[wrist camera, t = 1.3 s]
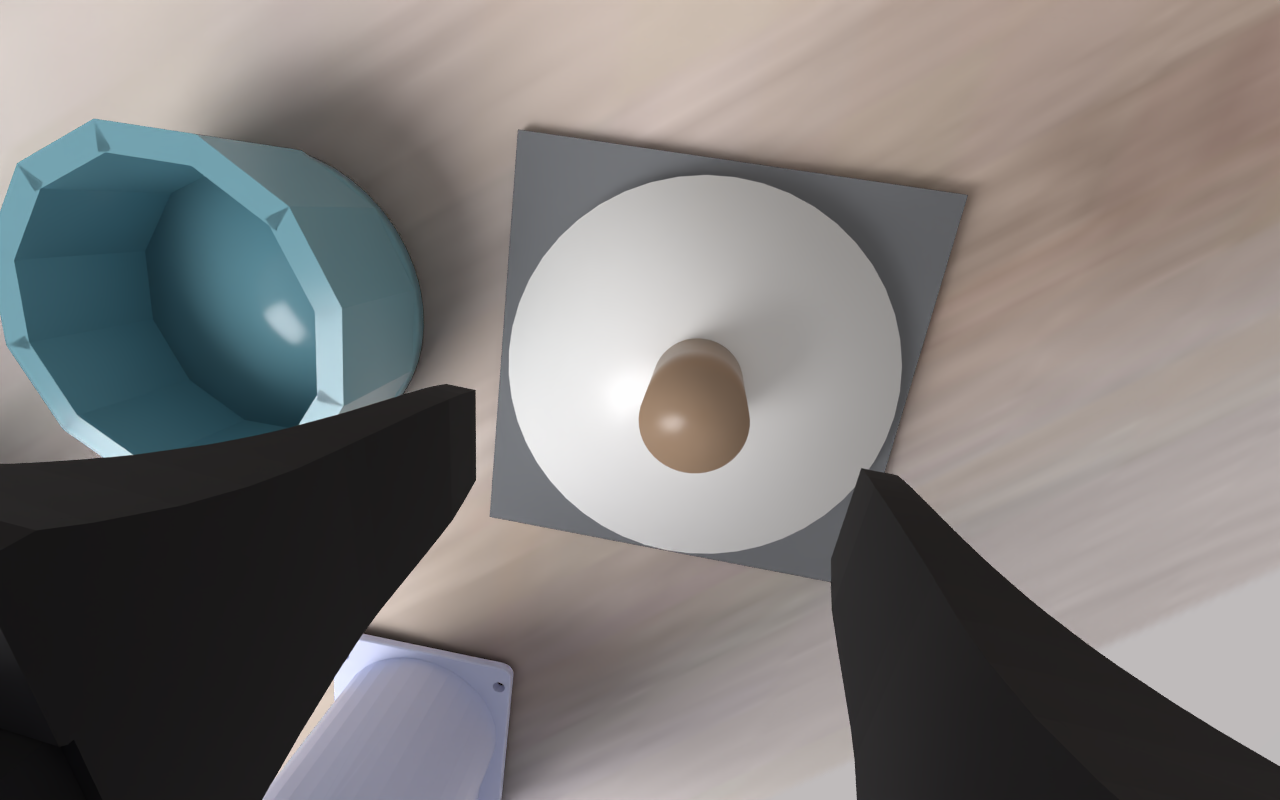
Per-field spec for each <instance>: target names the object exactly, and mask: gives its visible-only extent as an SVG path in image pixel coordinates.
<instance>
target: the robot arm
mask: <svg viewBox="0 0 1280 800" xmlns="http://www.w3.org/2000/svg"><path fill="white" fill-rule="evenodd" d="M475 481H476V402H475V390H472V389H467V388H463V387H458V386H453V385H448V384H444V385H438V386H433V387H429V388H425V389H421V390H417V391H414V392H410V393H407V394H404V395H400V396H397V397H394V398H390V399H387V400H384V401H381V402H377V403H374V404H371V405H368V406H364V407H361V408H358V409H355V410H351V411H348V412H345V413H341V414H337V415H334V416H330V417H326V418H323V419H319V420H316V421H312V422H308V423H305V424H301V425H297V426H294V427H290V428H286V429H282V430H278V431H273V432H269V433H264V434H260V435H255V436H250V437H245V438H240V439H235V440H230V441H225V442H219V443H214V444H208V445H201V446H194V447H187V448H179V449H172V450H165V451H158V452H150V453H143V454H136V455H127V456H116V457H106V458H95V459H83V460H69V461H55V462H39V463H20V464H0V800H502V789H503V779H504V769H505V758H506V748H507V737H508V727H509V717H510V706H511V696H512V685H513V675H514V674H513V670H512V668H511V667H510V666H509V665H507V664H505V663H501V662H497V661H492V660H487V659H482V658H477V657H473V656H468V655H463V654H458V653H453V652H449V651H444V650H439V649H434V648H429V647H425V646H420V645H415V644H410V643H405V642H401V641H396V640H391V639H386V638H381V637H377V636H372V635H367V634H363V633H364V631H365V630H366V629H367V627H368V626H369V625H370V623H371V622H372V621H373V619H374V618H375V616H376V615H377V614H378V612H379V611H380V610H381V608H382V607H383V606H384V605H385V604H386V602H387V601H388V600H389V599H390V597H391V596H392V595H393V594H394V592H395V591H396V590H397V589H398V588H399V586H400V585H401V584H402V583H403V581H404V580H405V579H406V578H407V576H408V575H409V574H410V573H411V571H412V570H413V569H414V568H415V567H416V565H417V564H418V563H419V562H420V560H421V559H422V558H423V557H424V555H425V554H426V553H427V552H428V551H429V549H430V548H431V547H432V546H433V544H434V543H435V542H436V540H437V539H438V538H439V537H440V535H441V534H442V533H443V532H444V530H445V529H446V528H447V527H448V525H449V524H450V523H451V521H452V520H453V518H454V517H455V515H456V513H457V512H458V510H459V509H460V507H461V505H462V504H463V502H464V500H465V498H466V497H467V495H468V493H469V491H470V490H471V488H472V486H473V484H474V482H475ZM831 598H832V614H833V621H834V627H835V634H836V640H837V647H838V653H839V659H840V665H841V671H842V677H843V683H844V690H845V696H846V702H847V708H848V714H849V720H850V726H851V733H852V742H853V750H854V758H855V774H856V791H857V800H1280V766H1278V765H1277V764H1275V763H1273V762H1271V761H1270V760H1268V759H1266V758H1264V757H1262V756H1261V755H1259V754H1258V753H1256V752H1254V751H1253V750H1250V749H1249V748H1247V747H1246V746H1244V745H1242V744H1241V743H1239V742H1237V741H1235V740H1233V739H1232V738H1230V737H1228V736H1227V735H1225V734H1223V733H1222V732H1220V731H1218V730H1217V729H1215V728H1213V727H1212V726H1210V725H1208V724H1207V723H1205V722H1204V721H1202V720H1201V719H1199V718H1197V717H1196V716H1194V715H1192V714H1191V713H1189V712H1188V711H1186V710H1184V709H1183V708H1181V707H1179V706H1178V705H1176V704H1175V703H1173V702H1172V701H1170V700H1169V699H1167V698H1166V697H1164V696H1163V695H1161V694H1159V693H1158V692H1157V691H1155V690H1154V689H1152V688H1151V687H1149V686H1147V685H1146V684H1145V683H1143V682H1142V681H1140V680H1138V679H1137V678H1135V677H1134V676H1132V675H1131V674H1129V673H1128V672H1126V671H1125V670H1123V669H1122V668H1120V667H1119V666H1117V665H1116V664H1115V663H1113V662H1112V661H1110V660H1109V659H1108V658H1106V657H1105V656H1103V655H1102V654H1100V653H1099V652H1098V651H1096V650H1095V649H1093V648H1092V647H1091V646H1089V645H1088V644H1087V643H1085V642H1084V641H1083V640H1081V639H1080V638H1079V637H1077V636H1076V635H1075V634H1073V633H1072V632H1071V631H1070V630H1068V629H1067V628H1066V627H1064V626H1063V625H1062V624H1060V623H1059V622H1058V621H1056V620H1055V619H1054V618H1053V617H1051V616H1050V615H1049V614H1047V613H1046V612H1045V611H1043V610H1042V609H1041V608H1040V607H1039V606H1037V605H1036V604H1035V603H1034V602H1032V601H1031V600H1030V599H1029V598H1028V597H1026V596H1025V595H1024V594H1023V593H1022V592H1021V591H1019V590H1018V589H1017V588H1016V587H1015V586H1014V585H1013V584H1011V583H1010V582H1009V581H1008V580H1007V579H1006V578H1005V577H1003V576H1002V575H1001V574H1000V573H999V572H998V571H997V570H995V569H994V568H993V567H992V566H991V565H990V564H989V563H988V562H987V561H986V560H985V559H983V558H982V557H981V556H980V555H979V554H978V553H977V552H976V551H975V550H974V549H973V548H972V547H971V546H970V545H969V544H968V543H967V542H965V541H964V540H963V539H962V538H961V537H960V536H959V535H958V534H957V533H956V532H955V531H954V530H953V529H952V528H951V527H950V526H949V525H948V524H947V523H946V522H945V521H944V520H943V519H942V518H941V517H940V516H939V515H938V514H937V513H936V512H935V511H934V510H933V509H932V508H931V507H930V506H929V505H928V504H927V503H926V502H925V501H924V500H923V499H922V498H921V497H920V496H919V495H918V494H917V493H916V492H915V491H914V490H913V489H912V488H911V487H910V486H909V485H908V484H907V483H906V482H905V481H903V480H902V479H901V478H900V477H899V476H897V475H893V474H888V473H883V472H878V471H873V470H868V469H863V468H861V470H860V473H859V476H858V479H857V482H856V485H855V488H854V491H853V494H852V497H851V500H850V503H849V506H848V509H847V512H846V515H845V518H844V521H843V524H842V527H841V530H840V533H839V536H838V539H837V542H836V545H835V548H834V551H833V554H832V557H831ZM333 679H334V700H335V702H334V703H333V704H332V705H331V707H330V708H329V709H328V711H327V712H326V713H325V714H324V716H323V717H322V718H321V720H320V721H319V722H318V723H317V725H316V726H315V727H314V729H313V730H312V731H311V732H310V734H309V735H308V736H307V738H306V739H305V740H304V742H303V743H302V744H301V745H300V747H299V748H298V749H297V751H296V752H295V753H294V754H293V756H292V757H291V758H290V760H289V761H288V762H287V763H286V765H285V766H284V767H283V769H282V770H281V771H280V772H279V774H278V775H277V773H278V771H279V770H280V768H281V766H282V764H283V763H284V761H285V759H286V757H287V756H288V754H289V752H290V750H291V749H292V747H293V745H294V743H295V742H296V740H297V738H298V736H299V735H300V733H301V731H302V730H303V728H304V726H305V725H306V723H307V722H308V720H309V718H310V717H311V715H312V713H313V712H314V710H315V708H316V707H317V705H318V704H319V702H320V700H321V699H322V697H323V695H324V694H325V692H326V690H327V689H328V687H329V686H330V684H331V682H332V681H333ZM497 682H499V683H502V684H503V685H499V684H498V683H497ZM276 775H277V776H276ZM275 777H276V778H275ZM274 778H275V779H274Z"/></svg>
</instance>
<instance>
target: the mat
mask: <svg viewBox="0 0 1280 800" xmlns="http://www.w3.org/2000/svg"><path fill="white" fill-rule="evenodd" d="M697 175H715V176H728V177H737V178H741V179H746V180H751V181H755V182H760V183H764V184H766V185H769V186H772V187H774V188H777V189H780V190H782V191H785V192H788V193H790V194H792V195H794V196H796V197H797V198H799V199H801V200H803V201H805V202H807V203H808V204H810V205H812V206H814V207H815V208H817V209H818V210H819V211H821V212H822V213H823V214H825V215H826V216H827V217H829V218H830V219H831V220H833V221H834V222H835V223H837V224H838V225H839V226H840V227H841V228H842V229H843V230H844V231H845V232H846V233H847V234H848V235H849V236H850V237H851V238H852V239H853V240H854V241H855V242H856V243H857V245H858V246H859V247H860V249H861V250H862V251H863V253H864V254H865V255H866V257H867V258H868V259H869V261H870V262H871V263H872V265H873V266H874V268H875V270H876V272H877V274H878V276H879V277H880V279H881V281H882V283H883V285H884V287H885V289H886V291H887V294H888V297H889V299H890V302H891V305H892V308H893V310H894V313H895V317H896V322H897V326H898V331H899V336H900V342H901V358H902V372H901V385H900V394H899V398H898V403H897V407H896V412H895V416H894V419H893V422H892V424H891V427H890V430H889V432H888V435H887V438H886V440H885V442H884V444H883V446H882V448H881V450H880V452H879V453H878V455H877V457H876V459H875V461H874V463H873V464H872V465H871V467H870V468H869V470H873V471H878V472H883V473H885V469H886V466H887V463H888V459H889V456H890V453H891V449H892V446H893V443H894V439H895V436H896V433H897V429H898V426H899V423H900V419H901V416H902V413H903V409H904V406H905V403H906V399H907V396H908V393H909V389H910V386H911V383H912V379H913V376H914V373H915V369H916V366H917V363H918V359H919V356H920V353H921V349H922V346H923V343H924V339H925V336H926V333H927V329H928V326H929V323H930V319H931V316H932V313H933V309H934V306H935V303H936V299H937V296H938V293H939V289H940V286H941V283H942V279H943V276H944V273H945V270H946V266H947V263H948V260H949V256H950V253H951V250H952V246H953V243H954V240H955V236H956V233H957V230H958V226H959V223H960V220H961V216H962V213H963V210H964V206H965V203H966V200H967V196H968V195H964V194H957V193H951V192H944V191H937V190H930V189H923V188H916V187H909V186H902V185H896V184H889V183H882V182H875V181H868V180H861V179H854V178H848V177H841V176H834V175H827V174H820V173H813V172H806V171H799V170H793V169H786V168H779V167H772V166H765V165H758V164H751V163H744V162H738V161H731V160H724V159H717V158H710V157H703V156H696V155H690V154H683V153H676V152H669V151H662V150H655V149H648V148H641V147H635V146H628V145H621V144H614V143H607V142H600V141H593V140H586V139H580V138H573V137H566V136H559V135H552V134H545V133H538V132H531V131H525V130H518V136H517V150H516V164H515V178H514V191H513V205H512V219H511V233H510V246H509V260H508V274H507V288H506V301H505V315H504V329H503V342H502V356H501V370H500V384H499V397H498V411H497V425H496V439H495V452H494V466H493V480H492V493H491V507H490V517H493V518H498V519H504V520H509V521H514V522H519V523H525V524H530V525H535V526H540V527H546V528H551V529H556V530H561V531H566V532H572V533H577V534H582V535H587V536H593V537H598V538H603V539H608V540H613V541H619V542H624V543H629V544H634V545H640V546H645V547H650V548H655V549H660V548H656V547H652V546H648V545H644V544H642V543H639V542H636V541H634V540H631V539H628V538H626V537H623V536H621V535H619V534H617V533H615V532H613V531H611V530H609V529H608V528H606V527H604V526H602V525H600V524H599V523H597V522H596V521H594V520H593V519H591V518H590V517H588V516H587V515H585V514H584V513H583V512H582V511H580V510H579V509H578V508H577V507H576V506H575V505H573V504H572V503H571V502H570V501H569V500H568V499H566V498H565V497H564V495H563V494H562V493H561V492H560V491H559V490H558V489H557V488H556V487H555V486H554V485H553V483H552V482H551V481H550V480H549V479H548V477H547V476H546V474H545V473H544V472H543V470H542V469H541V467H540V466H539V465H538V463H537V462H536V460H535V458H534V456H533V454H532V452H531V451H530V449H529V447H528V445H527V443H526V441H525V439H524V436H523V434H522V431H521V428H520V426H519V423H518V421H517V417H516V413H515V409H514V405H513V401H512V397H511V389H510V380H509V347H510V340H511V333H512V326H513V323H514V319H515V316H516V312H517V309H518V305H519V302H520V300H521V297H522V295H523V293H524V291H525V288H526V286H527V284H528V281H529V279H530V278H531V276H532V274H533V273H534V271H535V269H536V268H537V266H538V264H539V263H540V261H541V259H542V258H543V257H544V255H545V254H546V253H547V252H548V250H549V249H550V248H551V247H552V246H553V244H554V243H555V242H556V241H557V239H558V238H559V237H560V236H561V235H562V234H563V233H564V232H566V231H567V230H568V229H569V228H570V227H571V226H572V225H573V224H574V223H575V222H576V221H577V220H578V219H580V218H581V217H583V216H584V215H585V214H587V213H588V212H590V211H591V210H593V209H594V208H595V207H597V206H598V205H600V204H601V203H603V202H605V201H607V200H609V199H611V198H613V197H615V196H617V195H619V194H621V193H623V192H625V191H627V190H630V189H633V188H636V187H639V186H642V185H644V184H647V183H650V182H655V181H659V180H664V179H669V178H674V177H681V176H697ZM854 488H855V487H854ZM854 488H853V490H852V491H851V492H850V493H849V494H848V495H847V496H846V497H845V498H844V499H843V500H842V501H841V502H840V503H838V504H837V505H836V506H835V507H834V508H832V509H831V510H830V511H829V512H828V513H826V514H825V515H824V516H822V517H821V518H819V519H818V520H816V521H815V522H813V523H811V524H810V525H808V526H807V527H805V528H804V529H802V530H799V531H797V532H795V533H793V534H791V535H789V536H787V537H785V538H783V539H780V540H777V541H774V542H771V543H768V544H766V545H763V546H760V547H755V548H750V549H746V550H741V551H736V552H726V553H715V554H702V553H684V552H677V551H671V552H676V553H681V554H687V555H692V556H697V557H702V558H707V559H713V560H718V561H723V562H728V563H734V564H739V565H744V566H749V567H755V568H760V569H765V570H770V571H775V572H781V573H786V574H791V575H796V576H802V577H807V578H812V579H817V580H822V581H828V582H831V557H832V554H833V551H834V548H835V545H836V542H837V539H838V536H839V533H840V530H841V527H842V524H843V521H844V518H845V515H846V512H847V509H848V506H849V503H850V500H851V497H852V494H853V491H854ZM660 550H664V549H660ZM666 551H669V550H666Z"/></svg>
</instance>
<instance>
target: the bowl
mask: <svg viewBox="0 0 1280 800" xmlns="http://www.w3.org/2000/svg"><path fill="white" fill-rule="evenodd" d="M0 315H1V321H2V326H3V331H4V336H5V341H6V345H7V347H8V348H9V350H10V351H11V353H12V354H13V356H14V357H15V359H16V360H17V362H18V363H19V365H20V366H21V368H22V369H23V371H24V372H25V374H26V375H27V377H28V378H29V380H30V381H31V383H32V384H33V386H34V387H35V389H36V390H37V391H38V393H39V394H40V396H41V397H42V399H43V400H44V402H45V403H46V405H47V406H48V408H49V409H50V411H51V412H52V414H53V415H54V417H55V418H56V420H57V421H58V423H59V424H60V426H61V427H62V429H63V430H64V431H66V432H67V433H69V434H70V435H72V436H73V437H74V438H76V439H77V440H79V441H80V442H82V443H83V444H84V445H86V446H87V447H89V448H90V449H92V450H93V451H94V452H96V453H97V454H99V455H100V456H102V457H103V458H106V457H116V456H127V455H136V454H143V453H150V452H158V451H165V450H172V449H179V448H187V447H194V446H201V445H208V444H214V443H219V442H225V441H230V440H235V439H240V438H245V437H250V436H255V435H260V434H264V433H269V432H273V431H278V430H282V429H286V428H290V427H294V426H297V425H301V424H305V423H308V422H312V421H316V420H319V419H323V418H326V417H330V416H334V415H337V414H341V413H345V412H348V411H351V410H355V409H358V408H361V407H364V406H368V405H371V404H374V403H377V402H381V401H384V400H387V399H390V398H394V397H397V396H400V395H403V393H404V391H405V390H406V388H407V386H408V384H409V383H410V381H411V379H412V377H413V374H414V372H415V369H416V366H417V364H418V360H419V356H420V352H421V347H422V340H423V329H424V320H423V304H422V298H421V291H420V286H419V283H418V279H417V276H416V272H415V269H414V266H413V263H412V261H411V259H410V256H409V254H408V251H407V249H406V247H405V245H404V243H403V242H402V240H401V238H400V236H399V234H398V232H397V231H396V229H395V228H394V226H393V225H392V223H391V222H390V220H389V219H388V218H387V216H386V215H385V213H384V212H383V211H382V210H381V209H380V207H379V206H378V205H377V204H376V203H375V202H374V201H373V200H372V198H371V197H370V196H369V195H368V194H367V193H366V192H364V191H363V190H362V189H361V188H360V187H359V186H358V185H357V184H356V183H354V182H353V181H352V180H351V179H349V178H348V177H346V176H345V175H344V174H342V173H341V172H339V171H338V170H336V169H335V168H333V167H331V166H329V165H328V164H326V163H324V162H322V161H320V160H318V159H316V158H314V157H311V156H308V155H307V154H306V153H304V152H303V151H302V150H296V149H290V148H283V147H277V146H270V145H264V144H257V143H251V142H244V141H237V140H231V139H224V138H218V137H211V136H205V135H198V134H191V133H185V132H178V131H171V130H165V129H158V128H152V127H145V126H139V125H132V124H126V123H119V122H112V121H106V120H99V119H92V120H91V121H89V122H87V123H85V124H84V125H82V126H80V127H79V128H77V129H75V130H73V131H72V132H70V133H68V134H67V135H65V136H63V137H61V138H60V139H58V140H56V141H55V142H53V143H51V144H49V145H48V146H46V147H44V148H42V149H41V150H39V151H37V152H36V153H34V154H32V155H30V156H29V157H27V158H25V159H24V160H22V161H20V162H18V163H17V165H16V168H15V171H14V174H13V176H12V179H11V182H10V185H9V188H8V191H7V194H6V196H5V199H4V202H3V205H2V208H1V211H0Z"/></svg>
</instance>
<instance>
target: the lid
mask: <svg viewBox="0 0 1280 800" xmlns="http://www.w3.org/2000/svg"><path fill="white" fill-rule="evenodd" d="M901 372H902V358H901V342H900V336H899V331H898V326H897V322H896V317H895V313H894V310H893V308H892V305H891V302H890V299H889V297H888V294H887V291H886V289H885V287H884V285H883V283H882V281H881V279H880V277H879V276H878V274H877V272H876V270H875V268H874V266H873V265H872V263H871V262H870V261H869V259H868V258H867V257H866V255H865V254H864V253H863V251H862V250H861V249H860V247H859V246H858V245H857V243H856V242H855V241H854V240H853V239H852V238H851V237H850V236H849V235H848V234H847V233H846V232H845V231H844V230H843V229H842V228H841V227H840V226H839V225H838V224H837V223H835V222H834V221H833V220H831V219H830V218H829V217H827V216H826V215H825V214H823V213H822V212H821V211H819V210H818V209H817V208H815V207H814V206H812V205H810V204H808V203H807V202H805V201H803V200H801V199H799V198H797V197H796V196H794V195H792V194H790V193H788V192H785V191H782V190H780V189H777V188H774V187H772V186H769V185H766V184H764V183H760V182H755V181H751V180H746V179H741V178H737V177H728V176H715V175H697V176H681V177H674V178H669V179H664V180H659V181H655V182H650V183H647V184H644V185H642V186H639V187H636V188H633V189H630V190H627V191H625V192H623V193H621V194H619V195H617V196H615V197H613V198H611V199H609V200H607V201H605V202H603V203H601V204H600V205H598V206H597V207H595V208H594V209H593V210H591V211H590V212H588V213H587V214H585V215H584V216H583V217H581V218H580V219H578V220H577V221H576V222H575V223H574V224H573V225H572V226H571V227H570V228H569V229H568V230H567V231H566V232H564V233H563V234H562V235H561V236H560V237H559V238H558V239H557V241H556V242H555V243H554V244H553V246H552V247H551V248H550V249H549V250H548V252H547V253H546V254H545V255H544V257H543V258H542V259H541V261H540V263H539V264H538V266H537V268H536V269H535V271H534V273H533V274H532V276H531V278H530V279H529V281H528V284H527V286H526V288H525V291H524V293H523V295H522V297H521V300H520V302H519V305H518V309H517V312H516V316H515V319H514V323H513V326H512V333H511V340H510V347H509V380H510V389H511V397H512V401H513V405H514V409H515V413H516V417H517V421H518V423H519V426H520V428H521V431H522V434H523V436H524V439H525V441H526V443H527V445H528V447H529V449H530V451H531V452H532V454H533V456H534V458H535V460H536V462H537V463H538V465H539V466H540V467H541V469H542V470H543V472H544V473H545V474H546V476H547V477H548V479H549V480H550V481H551V482H552V483H553V485H554V486H555V487H556V488H557V489H558V490H559V491H560V492H561V493H562V494H563V495H564V497H565V498H566V499H568V500H569V501H570V502H571V503H572V504H573V505H575V506H576V507H577V508H578V509H579V510H580V511H582V512H583V513H584V514H585V515H587V516H588V517H590V518H591V519H593V520H594V521H596V522H597V523H599V524H600V525H602V526H604V527H606V528H608V529H609V530H611V531H613V532H615V533H617V534H619V535H621V536H623V537H626V538H628V539H631V540H634V541H636V542H639V543H642V544H644V545H648V546H652V547H656V548H660V549H664V550H669V551H677V552H684V553H702V554H715V553H726V552H736V551H741V550H746V549H750V548H755V547H760V546H763V545H766V544H768V543H771V542H774V541H777V540H780V539H783V538H785V537H787V536H789V535H791V534H793V533H795V532H797V531H799V530H802V529H804V528H805V527H807V526H808V525H810V524H811V523H813V522H815V521H816V520H818V519H819V518H821V517H822V516H824V515H825V514H826V513H828V512H829V511H830V510H831V509H832V508H834V507H835V506H836V505H837V504H838V503H840V502H841V501H842V500H843V499H844V498H845V497H846V496H847V495H848V494H849V493H850V492H851V491H852V490H853V488H854V487H855V485H856V482H857V479H858V476H859V473H860V470H861V468H863V469H868V470H869V468H870V467H871V465H872V464H873V463H874V461H875V459H876V457H877V455H878V453H879V452H880V450H881V448H882V446H883V444H884V442H885V440H886V438H887V435H888V432H889V430H890V427H891V424H892V422H893V419H894V416H895V412H896V407H897V403H898V398H899V394H900V385H901Z"/></svg>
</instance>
